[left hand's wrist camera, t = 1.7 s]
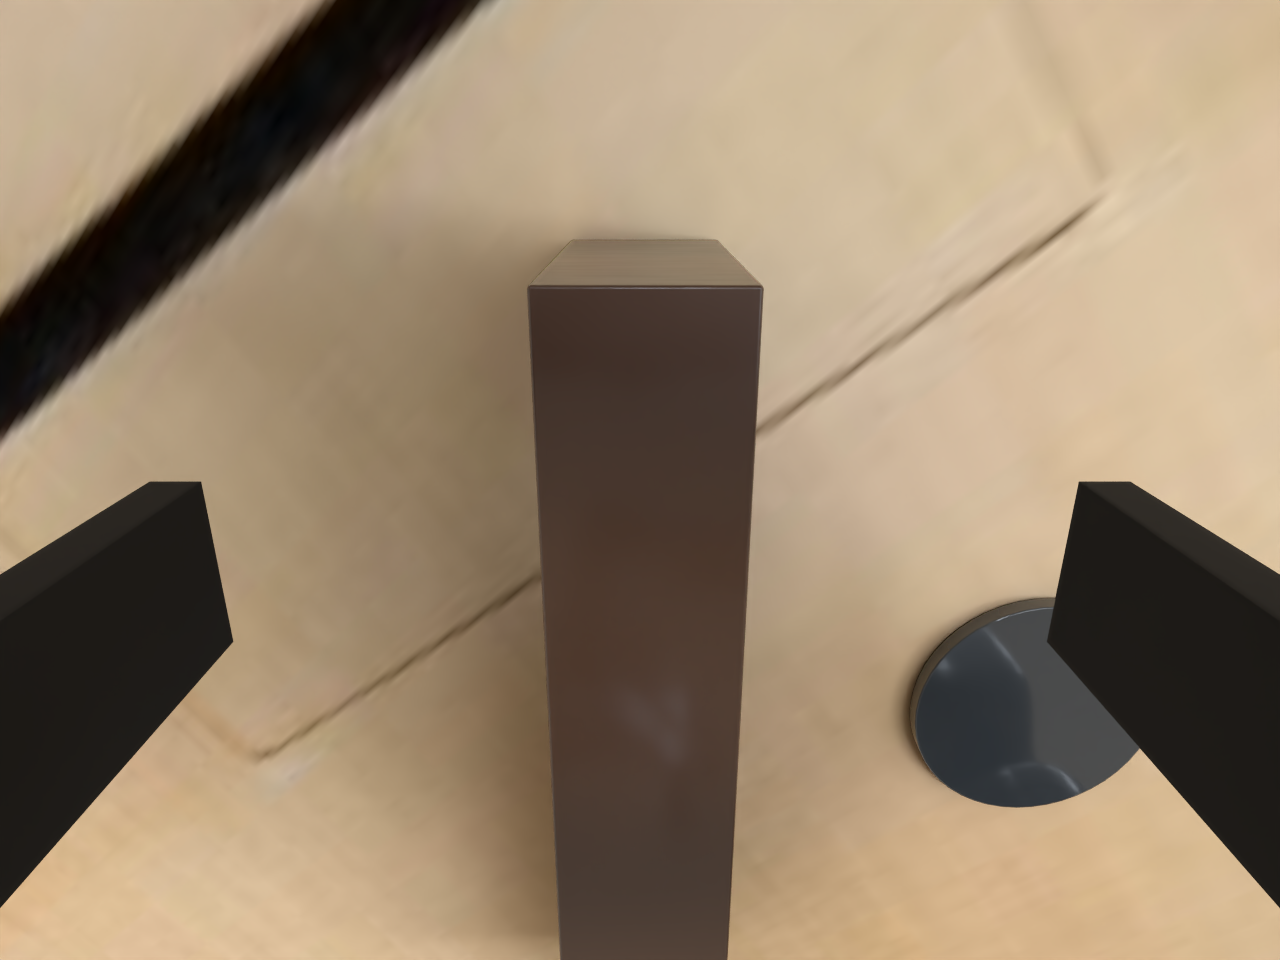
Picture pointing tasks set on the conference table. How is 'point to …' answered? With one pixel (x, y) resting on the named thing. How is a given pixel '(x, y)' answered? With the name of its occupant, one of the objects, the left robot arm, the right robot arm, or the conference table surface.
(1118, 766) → the coaster
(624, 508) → the bar
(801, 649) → the conference table surface
